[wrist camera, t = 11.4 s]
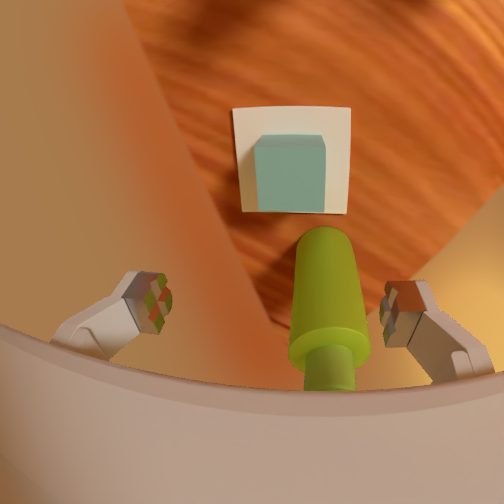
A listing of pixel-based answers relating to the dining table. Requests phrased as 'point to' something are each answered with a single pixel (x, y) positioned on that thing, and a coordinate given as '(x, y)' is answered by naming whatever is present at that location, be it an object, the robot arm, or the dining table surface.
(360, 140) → the dining table surface
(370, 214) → the dining table surface
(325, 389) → the soap dispenser
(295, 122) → the coaster
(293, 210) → the block
